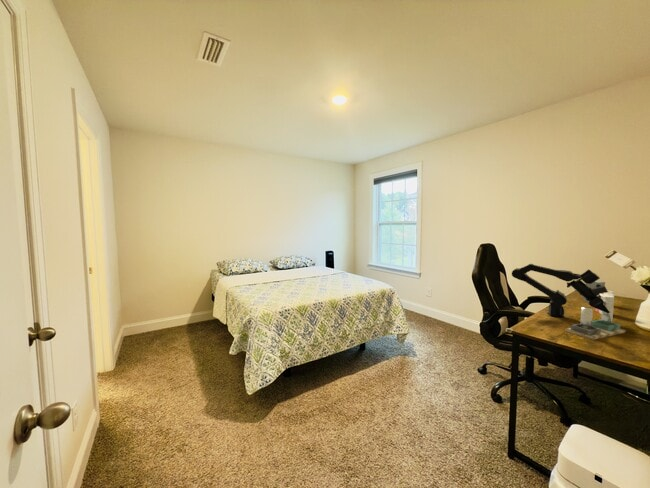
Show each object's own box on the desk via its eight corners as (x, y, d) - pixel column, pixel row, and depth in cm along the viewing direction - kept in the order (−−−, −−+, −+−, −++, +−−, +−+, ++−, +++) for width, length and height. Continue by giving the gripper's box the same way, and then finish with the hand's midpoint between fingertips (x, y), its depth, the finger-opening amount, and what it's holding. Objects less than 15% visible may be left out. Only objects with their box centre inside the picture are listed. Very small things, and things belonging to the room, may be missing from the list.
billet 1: (582, 332, 145) (583, 308, 144) (578, 329, 149) (579, 306, 148) (593, 333, 143) (594, 309, 142) (588, 330, 147) (589, 307, 146)
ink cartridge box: (593, 311, 182) (595, 288, 181) (602, 311, 181) (604, 289, 180) (604, 315, 174) (605, 292, 172) (613, 315, 173) (615, 292, 171)
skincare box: (582, 301, 203) (584, 279, 202) (589, 300, 205) (591, 279, 204) (597, 304, 195) (598, 282, 194) (604, 303, 197) (605, 281, 196)
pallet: (592, 339, 139) (593, 332, 139) (565, 330, 150) (565, 324, 150) (625, 332, 147) (626, 325, 147) (597, 324, 159) (597, 318, 158)
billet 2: (603, 324, 158) (605, 303, 157) (599, 322, 162) (600, 300, 161) (613, 325, 157) (615, 303, 156) (609, 322, 161) (610, 301, 160)
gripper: (598, 283, 154) (626, 306, 148) (594, 277, 168) (620, 298, 162) (578, 295, 159) (604, 318, 153) (576, 288, 174) (600, 309, 168)
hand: (607, 310), depth 159 cm, fingers open, 9 cm apart
